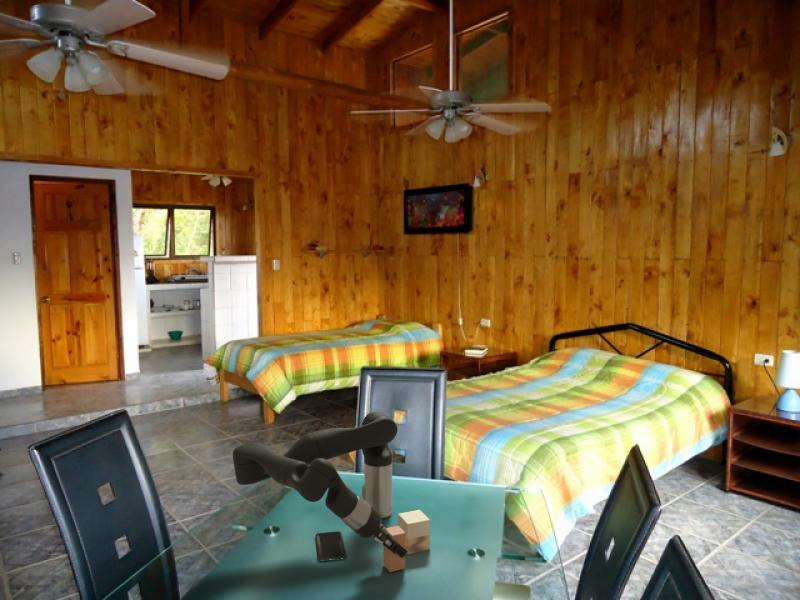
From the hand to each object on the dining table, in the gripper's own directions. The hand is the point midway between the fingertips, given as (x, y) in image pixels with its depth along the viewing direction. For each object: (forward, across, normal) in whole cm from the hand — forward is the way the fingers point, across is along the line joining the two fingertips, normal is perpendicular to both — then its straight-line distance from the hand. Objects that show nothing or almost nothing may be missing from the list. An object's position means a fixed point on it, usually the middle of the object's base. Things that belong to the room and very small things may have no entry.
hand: (400, 550), depth 157 cm
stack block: (+2, 0, -4) cm, 5 cm away
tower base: (+9, -8, +2) cm, 13 cm away
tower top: (+6, -8, +6) cm, 12 cm away
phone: (-6, -18, -14) cm, 23 cm away
